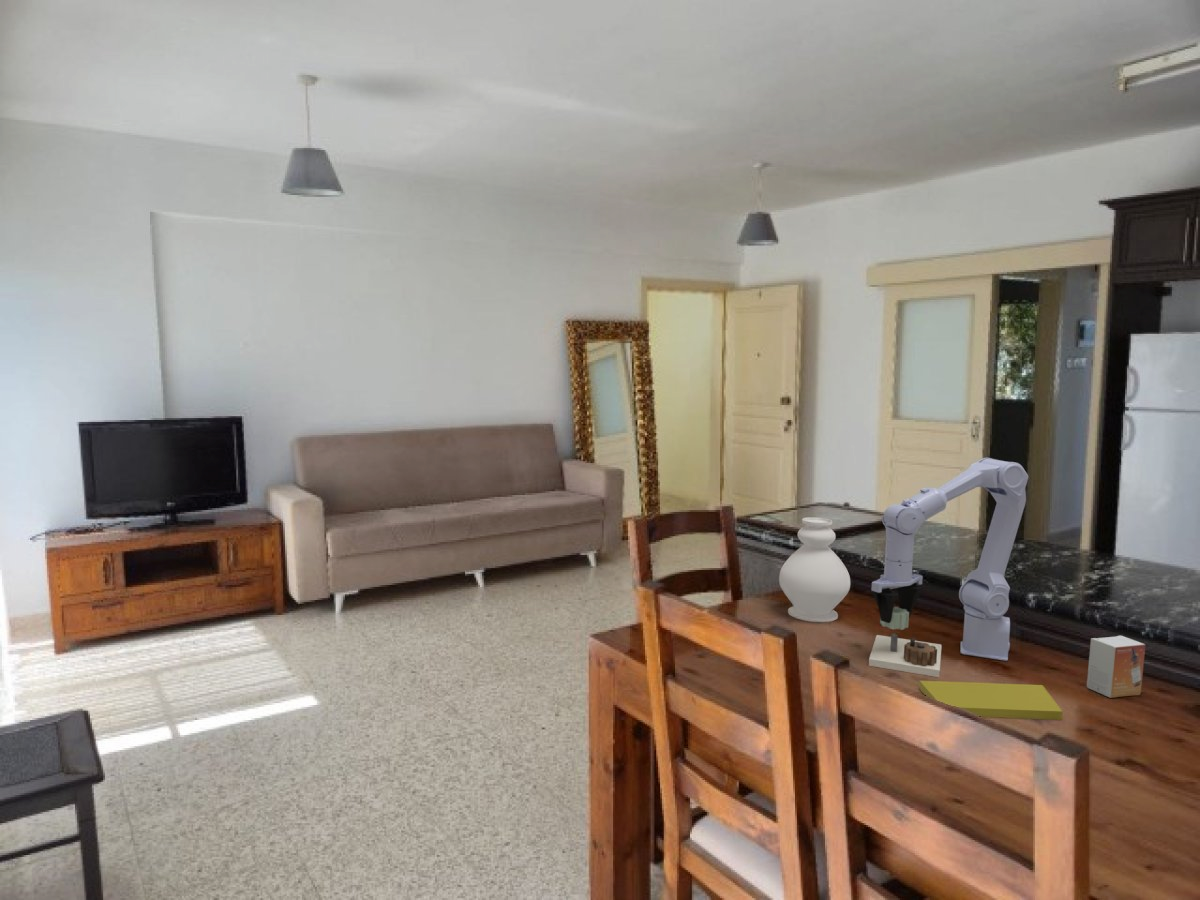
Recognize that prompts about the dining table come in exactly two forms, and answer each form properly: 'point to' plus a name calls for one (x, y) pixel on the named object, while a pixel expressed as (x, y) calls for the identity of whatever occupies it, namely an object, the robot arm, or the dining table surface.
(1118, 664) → the small box
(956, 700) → the flat olive board
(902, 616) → the sage gear
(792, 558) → the decorative vase
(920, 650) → the drive gear
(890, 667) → the gear board
